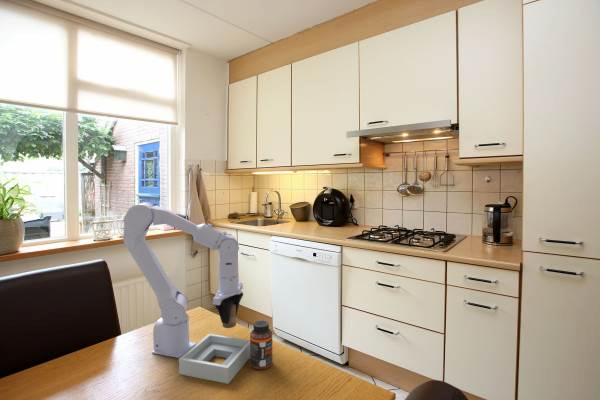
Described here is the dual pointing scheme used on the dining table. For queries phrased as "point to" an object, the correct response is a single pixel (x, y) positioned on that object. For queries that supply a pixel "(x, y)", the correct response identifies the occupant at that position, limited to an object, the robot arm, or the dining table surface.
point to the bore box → (219, 346)
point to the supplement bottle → (261, 346)
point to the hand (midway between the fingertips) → (229, 319)
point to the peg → (231, 318)
